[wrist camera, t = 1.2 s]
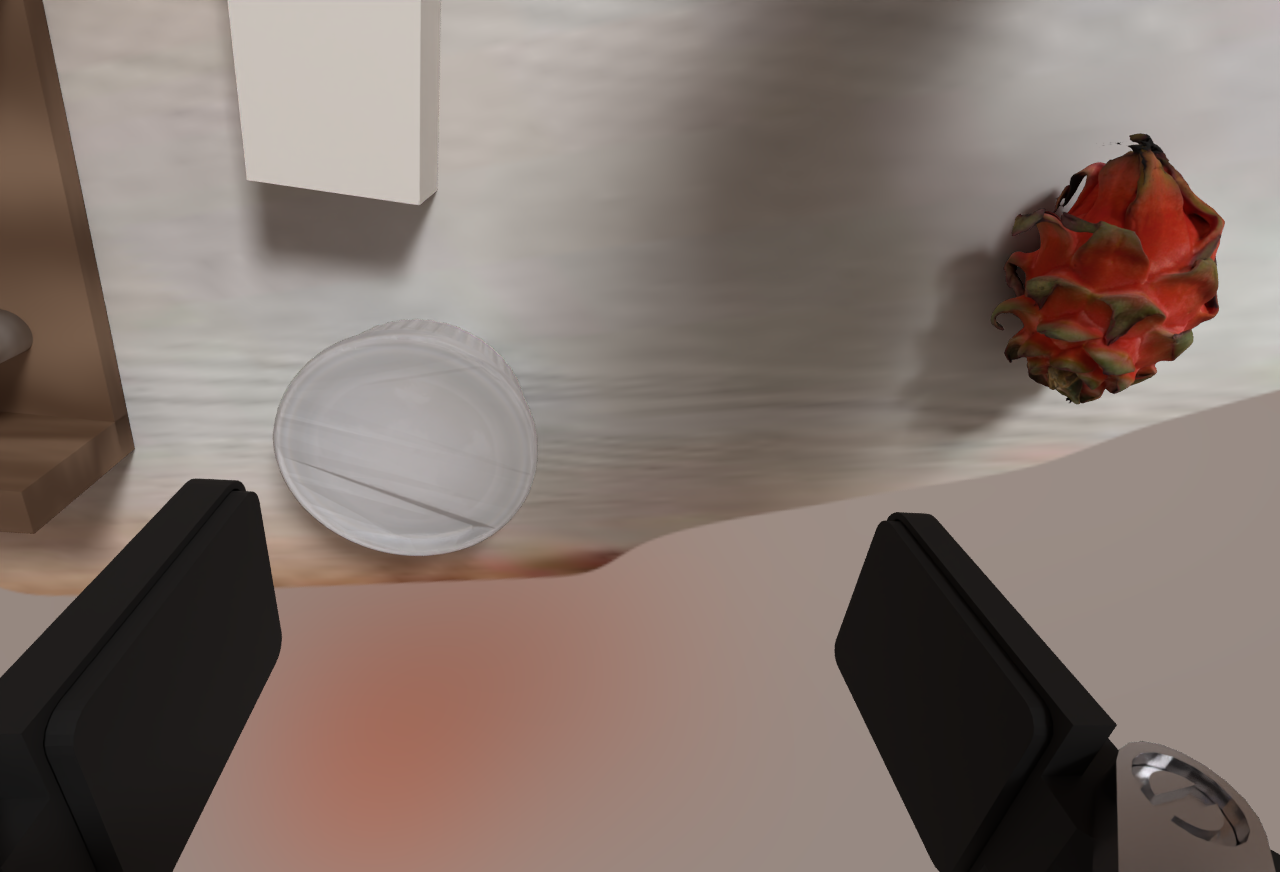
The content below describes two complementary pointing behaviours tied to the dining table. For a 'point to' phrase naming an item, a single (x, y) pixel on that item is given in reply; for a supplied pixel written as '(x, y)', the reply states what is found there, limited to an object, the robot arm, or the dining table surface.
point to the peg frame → (48, 296)
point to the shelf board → (340, 94)
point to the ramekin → (408, 439)
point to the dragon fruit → (1114, 276)
